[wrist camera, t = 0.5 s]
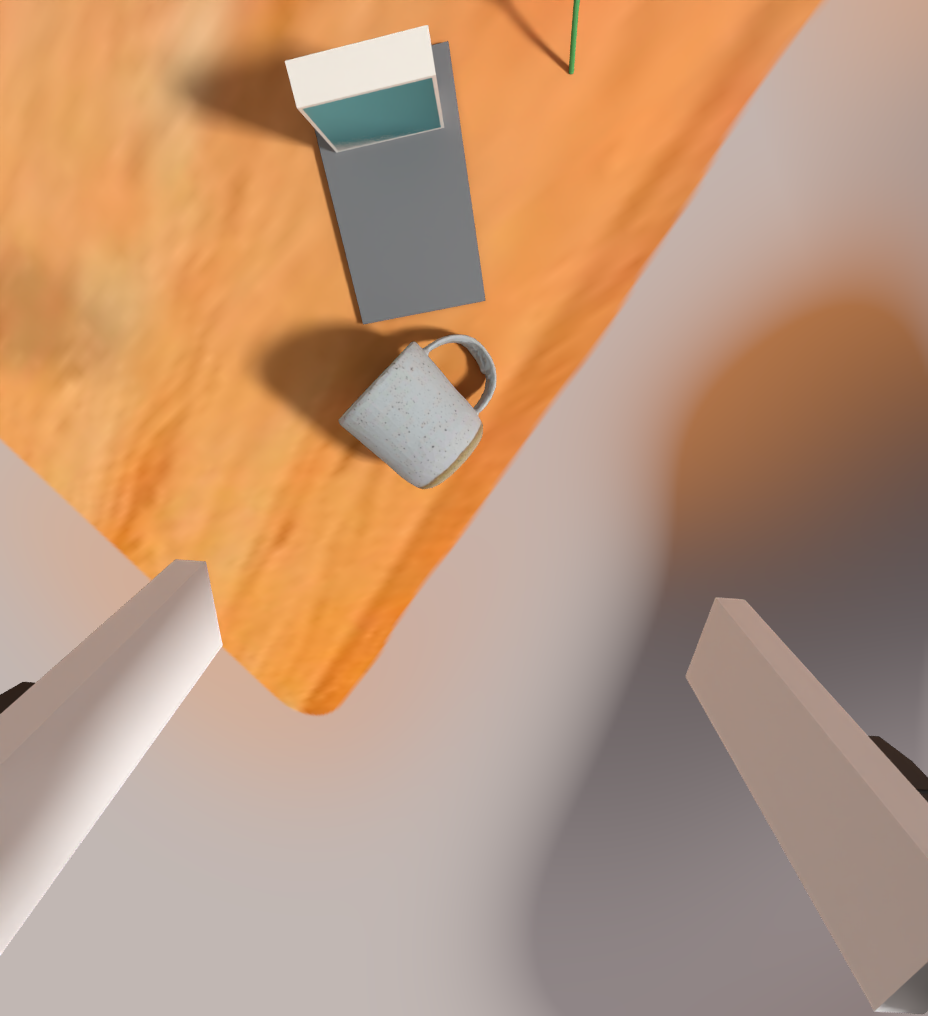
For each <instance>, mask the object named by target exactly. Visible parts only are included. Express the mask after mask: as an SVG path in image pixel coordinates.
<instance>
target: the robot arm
mask: <svg viewBox="0 0 928 1016" xmlns="http://www.w3.org/2000/svg"><path fill="white" fill-rule="evenodd" d="M221 647H222V640H221V635H220V630H219V625H218V620H217V615H216V610H215V605H214V600H213V595H212V590H211V585H210V580H209V575H208V570H207V565H206V562H205V561H190V560H176V559H175V560H174V561H173V562H172V563H171V564H170V565H169V566H167V567H166V568H165V569H164V570H163V571H162V572H161V573H160V574H158V575H157V576H156V577H155V578H154V579H153V580H152V581H150V582H149V583H148V584H147V585H146V586H145V587H144V588H143V589H141V591H139V592H138V593H137V594H136V595H135V596H134V597H132V598H131V599H130V600H129V601H128V602H127V603H126V604H124V606H122V607H121V608H120V609H119V610H118V611H117V612H116V613H114V614H113V615H112V616H111V617H110V618H109V619H107V620H106V621H105V622H104V623H103V624H102V625H101V626H100V627H99V628H97V629H96V630H95V631H94V632H93V633H92V634H90V635H89V636H88V637H87V638H86V639H85V640H84V641H83V642H81V643H80V644H79V645H78V646H77V647H76V648H75V649H74V650H72V651H71V652H70V653H69V654H68V655H67V656H66V657H64V658H63V659H62V660H61V661H60V662H59V663H58V664H57V665H55V666H54V667H53V668H52V669H51V670H50V671H49V672H47V673H46V674H45V675H44V676H43V677H42V678H41V679H40V680H38V681H37V682H36V683H32V682H22V683H20V684H18V685H17V686H15V687H13V688H12V689H10V690H8V691H6V692H4V693H3V694H1V695H0V955H1V954H2V952H3V951H4V950H5V948H6V947H7V945H8V944H9V943H10V941H11V940H12V938H13V937H14V935H15V934H16V933H17V932H18V930H19V929H20V927H21V926H22V924H23V923H24V922H25V920H26V919H27V918H28V916H29V915H30V913H31V912H32V911H33V909H34V908H35V906H36V905H37V904H38V902H39V901H40V899H41V898H42V896H43V895H44V894H45V892H46V891H47V890H48V888H49V887H50V885H51V884H52V883H53V881H54V880H55V878H56V877H57V876H58V874H59V873H60V872H61V870H62V869H63V867H64V866H65V865H66V863H67V862H68V860H69V859H70V857H71V856H72V855H73V853H74V852H75V851H76V849H77V848H78V846H79V845H80V844H81V842H82V841H83V839H84V838H85V837H86V835H87V834H88V832H89V831H90V830H91V828H92V827H93V825H94V824H95V823H96V821H97V820H98V818H99V817H100V815H101V814H102V813H103V811H104V810H105V809H106V807H107V806H108V805H109V803H110V802H111V800H112V799H113V798H114V796H115V795H116V793H117V792H118V791H119V789H120V788H121V786H122V785H123V784H124V782H125V781H126V779H127V778H128V777H129V775H130V774H131V772H132V771H133V770H134V768H135V767H136V765H137V764H138V763H139V761H140V760H141V758H142V757H143V756H144V754H145V753H146V751H147V750H148V748H149V747H150V746H151V744H152V743H153V742H154V740H155V739H156V737H157V736H158V735H159V733H160V732H161V731H162V729H163V728H164V726H165V725H166V724H167V722H168V721H169V719H170V718H171V717H172V715H173V714H174V712H175V711H176V710H177V708H178V707H179V705H180V704H181V703H182V701H183V700H184V698H185V697H186V696H187V694H188V693H189V691H190V690H191V689H192V687H193V686H194V685H195V683H196V682H197V680H198V679H199V678H200V676H201V675H202V673H203V672H204V670H205V669H206V668H207V666H208V665H209V664H210V662H211V661H212V659H213V658H214V657H215V655H216V654H217V652H218V651H219V650H220V648H221ZM686 678H687V680H688V682H689V684H690V685H691V687H692V689H693V691H694V693H695V694H696V696H697V698H698V700H699V701H700V703H701V705H702V707H703V709H704V710H705V712H706V714H707V716H708V717H709V719H710V721H711V723H712V725H713V726H714V728H715V730H716V732H717V733H718V735H719V737H720V739H721V740H722V742H723V744H724V746H725V748H726V749H727V751H728V753H729V755H730V756H731V758H732V760H733V762H734V763H735V765H736V767H737V769H738V771H739V772H740V774H741V776H742V778H743V779H744V781H745V783H746V785H747V787H748V788H749V790H750V792H751V794H752V795H753V797H754V799H755V801H756V803H757V804H758V806H759V808H760V809H761V811H762V813H763V815H764V816H765V819H766V820H767V822H768V824H769V826H770V827H771V829H772V831H773V833H774V834H775V836H776V838H777V840H778V842H779V843H780V845H781V847H782V848H783V850H784V852H785V854H786V856H787V857H788V859H789V861H790V863H791V865H792V866H793V868H794V870H795V872H796V873H797V875H798V877H799V879H800V880H801V882H802V884H803V886H804V887H805V889H806V891H807V893H808V895H809V897H810V898H811V900H812V902H813V904H814V905H815V907H816V909H817V911H818V913H819V914H820V916H821V918H822V919H823V921H824V923H825V925H826V926H827V928H828V930H829V932H830V934H831V935H832V937H833V939H834V941H835V943H836V944H837V946H838V948H839V950H840V952H841V953H842V955H843V957H844V958H845V960H846V962H847V964H848V966H849V967H850V969H851V971H852V973H853V975H854V976H855V978H856V980H857V982H858V983H859V985H860V987H861V989H862V990H863V992H864V994H865V996H866V998H867V999H868V1001H869V1003H870V1005H871V1006H872V1008H873V1010H874V1011H876V1012H894V1013H895V1012H896V1013H913V1014H924V1013H926V1012H927V1011H928V777H926V775H925V774H924V773H923V772H922V771H921V770H920V769H919V768H918V767H917V766H916V765H915V764H914V763H913V762H912V761H911V760H910V759H908V758H907V757H905V756H904V755H903V754H902V753H900V752H899V751H898V750H896V749H895V748H894V747H892V746H891V745H890V744H888V743H887V742H886V741H884V740H883V739H882V738H880V737H879V736H867V734H866V733H865V732H864V731H863V730H862V729H861V728H860V727H859V726H858V725H857V723H856V722H855V721H854V720H853V719H852V718H851V717H850V716H849V715H848V713H847V712H846V711H845V710H844V709H843V708H842V707H841V706H840V705H839V703H838V702H837V701H836V700H835V699H834V698H833V697H832V696H831V695H830V693H829V692H828V691H827V690H826V689H825V688H824V687H823V686H822V685H821V684H820V682H819V681H818V680H817V679H816V678H815V677H814V676H813V675H812V674H811V672H810V671H809V670H808V669H807V668H806V667H805V666H804V665H803V664H802V663H801V661H800V660H799V659H798V658H797V657H796V656H795V655H794V654H793V653H792V651H791V650H790V649H789V648H788V647H787V646H786V645H785V644H784V643H783V641H781V639H780V638H779V637H778V636H777V635H776V634H775V633H774V631H773V630H772V629H771V628H770V627H769V626H768V625H767V624H766V623H765V622H764V620H763V619H762V618H761V617H760V616H759V615H758V614H757V613H756V612H755V610H754V609H753V608H752V607H751V606H750V605H749V604H748V603H747V602H746V601H745V600H744V599H743V600H742V599H730V598H715V600H714V603H713V606H712V608H711V611H710V613H709V616H708V619H707V621H706V624H705V626H704V629H703V632H702V634H701V637H700V640H699V642H698V645H697V648H696V650H695V653H694V655H693V658H692V661H691V663H690V666H689V669H688V671H687V674H686Z"/></svg>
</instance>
